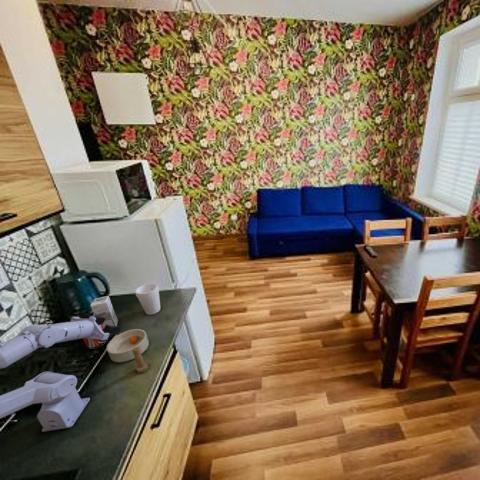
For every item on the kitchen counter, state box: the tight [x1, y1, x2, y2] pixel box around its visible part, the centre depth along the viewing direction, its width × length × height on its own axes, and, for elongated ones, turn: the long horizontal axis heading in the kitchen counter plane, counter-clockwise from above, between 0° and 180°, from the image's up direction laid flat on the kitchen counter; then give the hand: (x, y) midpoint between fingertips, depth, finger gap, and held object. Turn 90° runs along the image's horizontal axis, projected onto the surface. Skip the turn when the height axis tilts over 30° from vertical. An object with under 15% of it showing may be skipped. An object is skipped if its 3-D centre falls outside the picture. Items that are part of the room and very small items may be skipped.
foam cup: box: [134, 282, 161, 316], centre depth 130 cm, size 10×9×13 cm
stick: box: [132, 347, 149, 374], centre depth 98 cm, size 4×4×10 cm
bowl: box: [106, 328, 150, 363], centre depth 108 cm, size 13×13×5 cm
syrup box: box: [90, 295, 119, 328], centre depth 119 cm, size 6×6×14 cm
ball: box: [129, 336, 138, 344], centre depth 111 cm, size 3×3×3 cm
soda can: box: [82, 324, 109, 350], centre depth 110 cm, size 7×7×12 cm
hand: (111, 324), depth 98 cm, fingers open, 7 cm apart
